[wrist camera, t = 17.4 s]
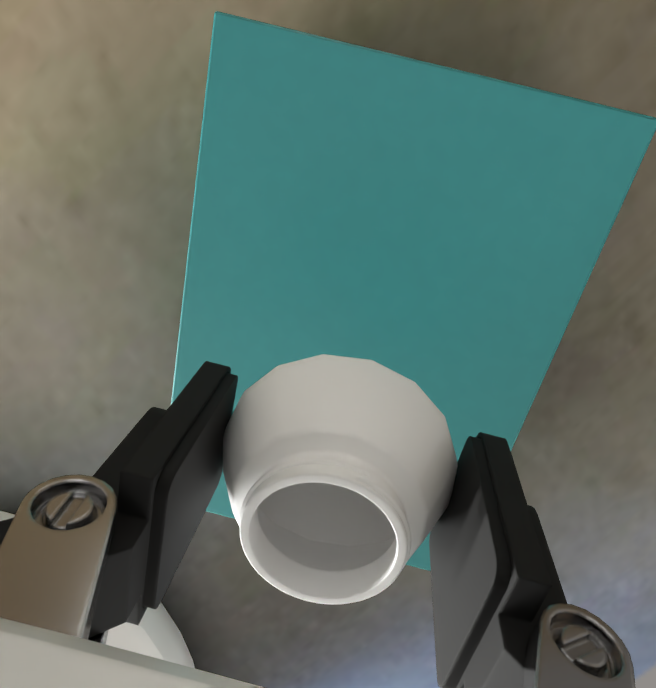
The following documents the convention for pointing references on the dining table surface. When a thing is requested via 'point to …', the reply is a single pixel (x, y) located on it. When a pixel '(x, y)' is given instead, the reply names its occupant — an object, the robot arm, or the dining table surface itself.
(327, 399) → the white jar
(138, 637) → the plate
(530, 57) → the dining table surface
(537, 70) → the dining table surface
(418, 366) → the lunchbox lid
